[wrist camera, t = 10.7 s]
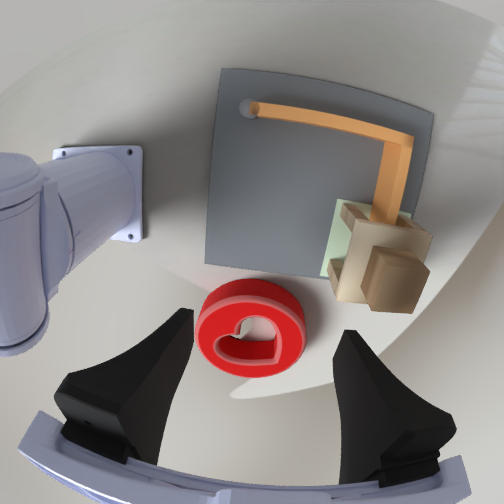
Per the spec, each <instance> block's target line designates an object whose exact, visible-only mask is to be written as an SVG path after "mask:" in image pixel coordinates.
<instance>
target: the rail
mask: <svg viewBox="0 0 504 504" xmlns="http://www.w3.org/2000/svg"><path fill="white" fill-rule="evenodd" d="M239 110H240V113H241V114H242V115H243V116H245V117H247V118H249V119H257V118H258V117H260V118H268V119H276V120H283V121H290V122H296V123H302V124H308V125H314V126H319V127H324V128H329V129H334V130H339V131H343V132H348V133H352V134H356V135H360V136H364V137H368V138H372V139H376V140H380V141H383V142H385V143H384V149H383V154H382V160H381V165H380V170H379V175H378V180H377V185H376V189H375V194H374V198H373V203H372V209H371V213H370V217H369V220H370V221H375V222H380V223H385V224H390V225H395V223H396V220H397V216H398V212H399V208H400V204H401V200H402V196H403V192H404V188H405V183H406V179H407V174H408V169H409V164H410V159H411V153H412V148H413V142H414V136H411V135H408V134H405V133H402V132H398V131H395V130H392V129H389V128H385V127H382V126H378V125H375V124H371V123H367V122H364V121H360V120H356V119H352V118H347V117H343V116H339V115H334V114H329V113H324V112H319V111H314V110H309V109H303V108H297V107H291V106H284V105H277V104H269V103H260V102H257V101H256V100H255V99H252V98H247V99H244V100H243V101H242V102H241V103H240V106H239Z"/></svg>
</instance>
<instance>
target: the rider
mask: <svg viewBox="0 0 504 504" xmlns="http://www.w3.org/2000/svg"><path fill="white" fill-rule="evenodd" d="M340 217H341V218H342V220H343V221H344V222H345V224H346V225H347V227H348V228H349V230H350V231H351V232H352V235H351V239H350V243H349V247H348V250H347V254H346V258H345V261H344V265H343V264H342V261H338V260H330V259H329V263H328V267H327V273H328V276H329V279H330V282H331V285H332V288H333V291H334V294H335V297H336V300H337V301H339V302H350V303H361V304H368V305H369V307H370V309H371V311H377V312H391V313H408V314H412V313H413V311H414V309H415V307H416V304H417V302H418V300H419V298H420V295H421V293H422V291H423V288H424V286H425V284H426V281H427V279H428V276H429V274H430V271H429V270H428V268H427V267H426V266H425V265H424V261H425V258H426V255H427V252H428V249H429V246H430V243H431V240H432V237H433V236H431V235H430V234H429V233H428V232H427V231H425V230H424V229H423V228H422V227H420V226H419V225H418V224H417V223H415V222H414V221H413V220H411V219H410V218H409V217H408V216H405V215H400V214H398V216H397V220H396V223H395V225H390V224H385V223H380V222H375V221H370V220H369V219H368V218H367V217H366V216H365V215H364V214H363V213H362V212H361V211H360V210H359V209H358V208H357V207H356V206H355V205H351V204H345V203H342V208H341V212H340Z"/></svg>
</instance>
